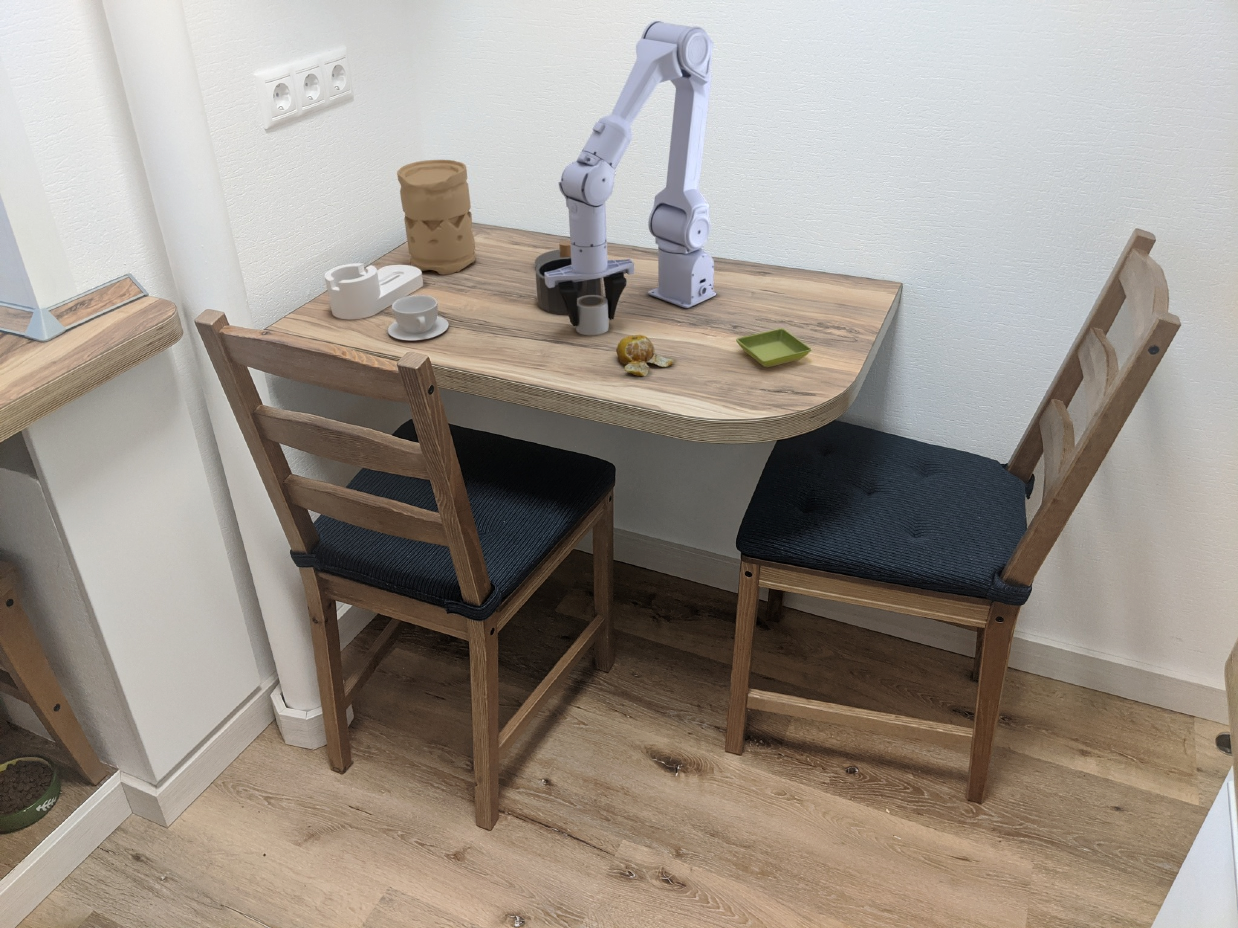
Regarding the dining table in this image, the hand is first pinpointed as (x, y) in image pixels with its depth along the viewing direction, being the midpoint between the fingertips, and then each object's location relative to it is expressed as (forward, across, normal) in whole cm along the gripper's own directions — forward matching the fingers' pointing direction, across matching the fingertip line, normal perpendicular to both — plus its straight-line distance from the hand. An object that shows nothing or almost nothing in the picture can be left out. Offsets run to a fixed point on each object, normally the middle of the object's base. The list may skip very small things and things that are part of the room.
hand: (592, 320), depth 157 cm
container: (+2, +17, -40) cm, 43 cm away
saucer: (+2, -22, +21) cm, 31 cm away
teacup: (+2, +27, -11) cm, 29 cm away
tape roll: (+1, 0, 0) cm, 1 cm away
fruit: (+2, -2, +15) cm, 16 cm away
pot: (+1, 0, -12) cm, 12 cm away
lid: (+1, -5, -28) cm, 29 cm away
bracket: (+2, +31, -28) cm, 42 cm away
